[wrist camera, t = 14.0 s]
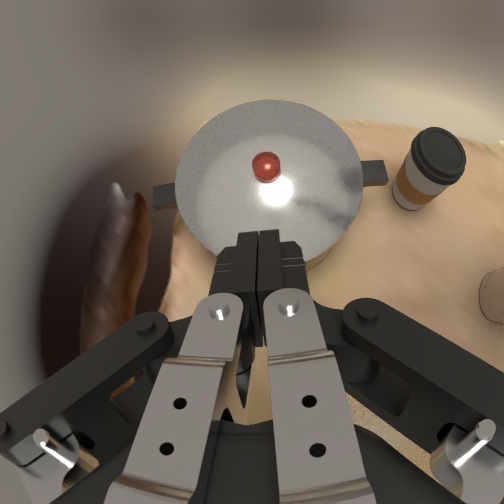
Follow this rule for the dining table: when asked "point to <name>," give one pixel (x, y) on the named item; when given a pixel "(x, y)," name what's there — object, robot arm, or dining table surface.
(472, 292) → the dining table surface
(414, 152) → the coffee cup
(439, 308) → the dining table surface
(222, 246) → the lid
